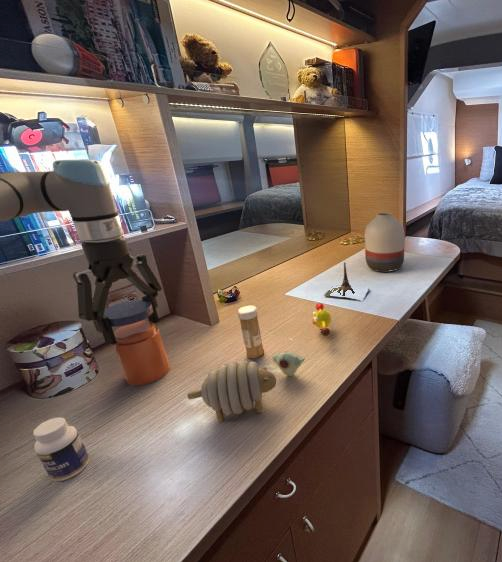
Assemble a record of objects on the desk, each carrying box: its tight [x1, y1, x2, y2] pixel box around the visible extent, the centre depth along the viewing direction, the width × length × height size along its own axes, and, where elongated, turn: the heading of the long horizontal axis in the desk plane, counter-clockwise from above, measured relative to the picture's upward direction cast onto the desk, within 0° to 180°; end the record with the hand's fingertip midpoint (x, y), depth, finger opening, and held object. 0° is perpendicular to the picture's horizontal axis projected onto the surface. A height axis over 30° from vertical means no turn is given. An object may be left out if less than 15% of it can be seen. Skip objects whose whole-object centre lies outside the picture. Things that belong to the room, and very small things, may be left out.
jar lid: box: [103, 299, 153, 328], centre depth 77 cm, size 10×10×2 cm
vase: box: [364, 212, 406, 272], centre depth 145 cm, size 17×17×24 cm
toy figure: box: [311, 302, 332, 337], centre depth 99 cm, size 18×6×7 cm, turn 14°
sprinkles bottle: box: [237, 305, 265, 359], centre depth 88 cm, size 5×4×13 cm
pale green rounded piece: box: [272, 351, 306, 376], centre depth 80 cm, size 8×4×7 cm, turn 78°
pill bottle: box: [32, 416, 90, 482], centre depth 57 cm, size 5×5×10 cm
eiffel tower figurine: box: [323, 259, 355, 297], centre depth 122 cm, size 15×10×13 cm
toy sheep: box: [187, 360, 277, 423], centre depth 69 cm, size 11×17×11 cm, turn 112°
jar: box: [112, 320, 171, 386], centre depth 81 cm, size 9×9×13 cm
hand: (134, 331), depth 79 cm, fingers closed on jar lid, 9 cm apart
